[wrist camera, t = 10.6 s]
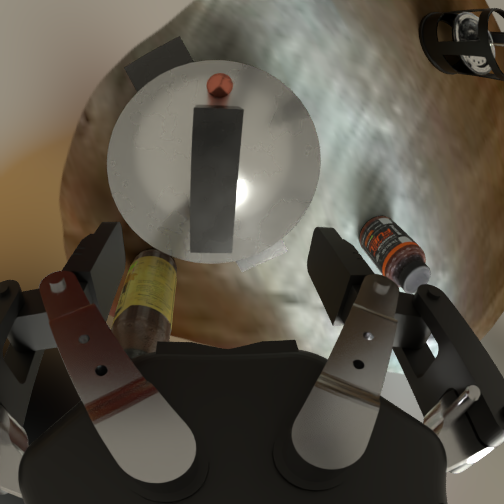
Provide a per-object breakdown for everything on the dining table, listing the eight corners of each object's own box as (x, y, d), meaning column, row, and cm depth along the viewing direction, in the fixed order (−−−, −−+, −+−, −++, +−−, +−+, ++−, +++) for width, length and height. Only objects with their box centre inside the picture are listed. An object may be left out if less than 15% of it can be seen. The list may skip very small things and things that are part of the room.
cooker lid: (112, 65, 17) (87, 60, 13) (328, 75, 20) (357, 74, 16) (120, 254, 26) (106, 288, 22) (298, 257, 29) (314, 290, 24)
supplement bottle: (371, 208, 37) (417, 251, 28) (400, 222, 39) (445, 265, 29) (350, 244, 40) (388, 295, 30) (379, 256, 42) (418, 304, 32)
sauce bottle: (128, 247, 36) (82, 376, 19) (176, 246, 37) (157, 381, 20) (136, 287, 39) (107, 414, 22) (180, 287, 40) (171, 419, 23)
